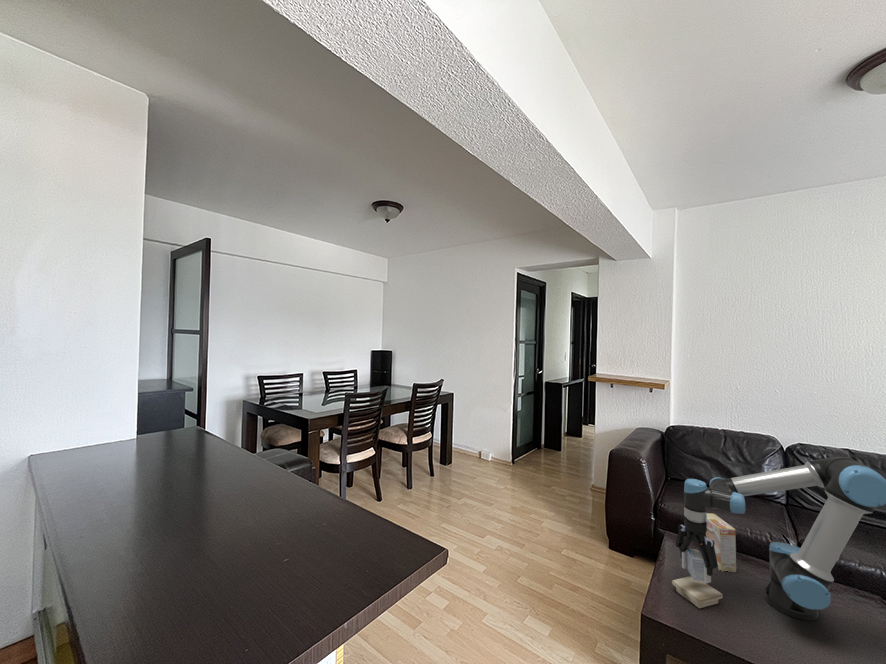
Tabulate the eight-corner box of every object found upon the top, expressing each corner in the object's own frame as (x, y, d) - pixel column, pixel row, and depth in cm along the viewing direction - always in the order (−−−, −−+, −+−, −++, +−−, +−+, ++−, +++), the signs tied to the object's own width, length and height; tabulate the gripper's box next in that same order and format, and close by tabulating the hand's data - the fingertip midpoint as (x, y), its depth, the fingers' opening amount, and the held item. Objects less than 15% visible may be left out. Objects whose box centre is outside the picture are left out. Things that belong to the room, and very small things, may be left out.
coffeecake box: (699, 552, 176) (699, 512, 176) (715, 553, 175) (714, 513, 176) (720, 571, 161) (719, 528, 162) (737, 572, 160) (736, 528, 161)
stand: (722, 604, 141) (722, 594, 141) (699, 610, 137) (699, 600, 138) (693, 584, 152) (693, 575, 152) (672, 590, 149) (672, 580, 149)
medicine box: (705, 582, 141) (705, 560, 141) (692, 580, 142) (692, 558, 142) (698, 570, 148) (698, 549, 148) (686, 568, 150) (686, 547, 150)
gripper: (729, 531, 136) (730, 590, 136) (678, 506, 157) (679, 557, 157) (715, 533, 134) (715, 594, 134) (665, 508, 155) (665, 560, 154)
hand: (696, 574), depth 145 cm, fingers closed on medicine box, 9 cm apart
